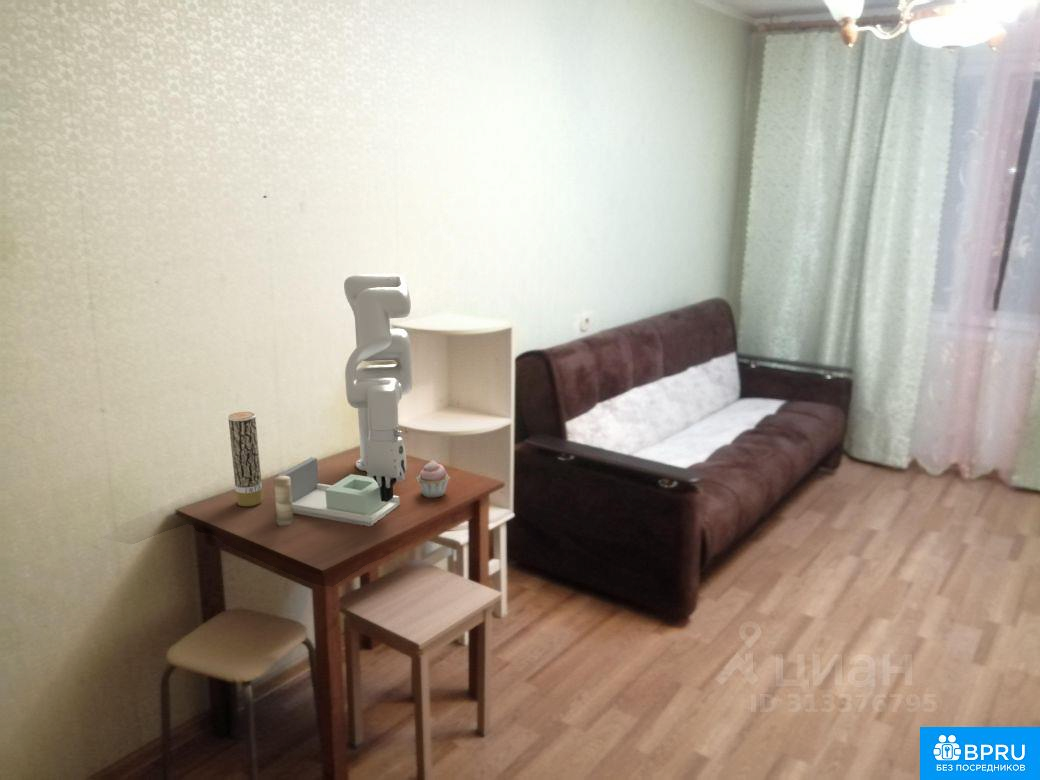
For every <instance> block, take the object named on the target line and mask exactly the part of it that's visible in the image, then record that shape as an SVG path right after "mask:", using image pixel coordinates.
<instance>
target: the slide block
mask: <svg viewBox="0 0 1040 780" xmlns="http://www.w3.org/2000/svg"><path fill="white" fill-rule="evenodd" d="M325 491H326V505H327V508H328V509H333V510H339V511H345V512H351V513H356V514H362V515H368V516H370V515H371V514H372V513H374V512H375V511H376V510H378V509H379V508H381V507H382V506H383V505H385V504H386V503H388V502H389V501H390V500H389V501H388V502H385V501H384V502H383V501H381V496H380V487H379V486H378V484H377V482H376V481H375V480H374V479H373V478H370V477H368V476H367V475H366V476H364V475H360V474H353V473H350V474H349V475H347V476H345V477H344V478H342V479H341V480H339V481H337V482H336V483H334V484H333V485H332V486H331V487H329V488H327V489H326V490H325Z"/></svg>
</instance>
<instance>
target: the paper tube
mask: <svg viewBox="0 0 1040 780" xmlns="http://www.w3.org/2000/svg"><path fill="white" fill-rule="evenodd" d="M227 416H228V426H229V427H228V428H229V436H230V437H229V439H230V448H231V456H232V457H231V458H232V467H233V469H232V470H233V479H234V485H235V486H234V487H235V496H236V504H238V505H239V506H241V507H254V506H257V505H260V504H261V503H262V502H263V500H264V496H263V484H262V474H261V464H260V463H261V462H260V452H259V450H260V449H259V440H258V439H259V438H258V430H257V420H256V419H257V417H256V413H255V412H253V411H240V412H235V413H234V412H233V413H231V414H228V415H227Z"/></svg>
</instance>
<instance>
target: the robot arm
mask: <svg viewBox="0 0 1040 780" xmlns="http://www.w3.org/2000/svg"><path fill="white" fill-rule="evenodd" d="M343 289H344V295H345V297H346V301H347V302H348V303H349V306H350V308H351V310H352V313H353V316H354V326H355V327H354V328H355V342H356V343H355V344H356V347H355V349H354V350H353V351H352V353H351V354H350V356H349V357H348V359H347V362H346V365H345V366H346V367H345V370H344V371H345V372H344V373H345V374H344V375H345V376H344V378H345V380H344V381H345V392H346V393H345V394H346V399H347V403H348V404H349V406H351V407H352V408H354V409H357V413H358V415H357V416H358V431H359V450H360V451H359V452H360V453H359V454H360V458H359V459H358V460H356V462H355V467H356V469H358V470H360V471H363V472H367V473H366V477H370V478H373V479H374V480H375V481H376V482H377V484H378V486H379V487H380V496H381V501H383V502H384V501H385V502H388V501H389V500H391V499H392V498H393V495H394V485H395V484H396V483H402V482H404V481H405V480H406V476H405V473H407V472H408V471H407V470H408V468H407V467H408V463H407V456H406V449H405V444H404V440H403V438H402V437H403V434H404V431H403V430H400V427H399V412H398V411H399V409H398V407H399V405H398V404H399V403H400V400H401V399H402V397H403V396H405V395H407V394H410V393H411V391H412V388H413V365H412V347H411V340H410V339H411V338H410V335H409V334H408V332H407V331H406V330H404V329H402V328H391V321H390V319H399V318H401V319H404V318H407V317H408V316H409V315H410V313H411V308H412V307H411V305H412V304H411V296H410V295H411V294H410V291H409V289H408V284H407V282H406V279H405V277H404V276H403V275H401V274H399V273H398V274H396V273H392V274H391V273H389V274H387V273H383V274H379V273H378V274H374V273H373V274H357V275H351V276H348V277H347V278H345V280H344V282H343ZM362 362H365V363H366V362H370V363H373V362H374V363H376V362H395V363H396V364H393V363H392V364H372V365H364V366H361V367H359V368H358V366H360V364H361V363H362Z"/></svg>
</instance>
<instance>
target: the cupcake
mask: <svg viewBox="0 0 1040 780" xmlns="http://www.w3.org/2000/svg"><path fill="white" fill-rule="evenodd" d="M416 480H417V482H418V483H419V486H420V490H421V493H422V495H423V496H424V497H427V498H430V499H431V498H433V499H434V498H440V497H442V496H444V495H445V494H446V490H447V485H448V483H449V480H450V476H449V474H448V473H447V471H446V469H445V467H444V466H443V465H442V464H439V463H438V462H436V460H434V459H432V460H430V461H429V462H428V463H425V465H424V466H423V469H421V470H420V474H419V475H418V476H417V477H416Z"/></svg>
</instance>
